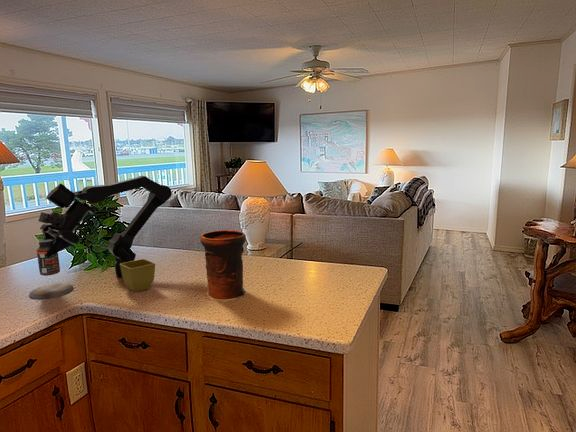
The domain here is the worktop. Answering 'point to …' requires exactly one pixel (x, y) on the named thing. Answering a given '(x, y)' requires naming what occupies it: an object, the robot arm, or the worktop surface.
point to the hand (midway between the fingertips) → (43, 255)
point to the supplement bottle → (47, 259)
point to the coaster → (51, 291)
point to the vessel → (224, 264)
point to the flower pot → (138, 274)
